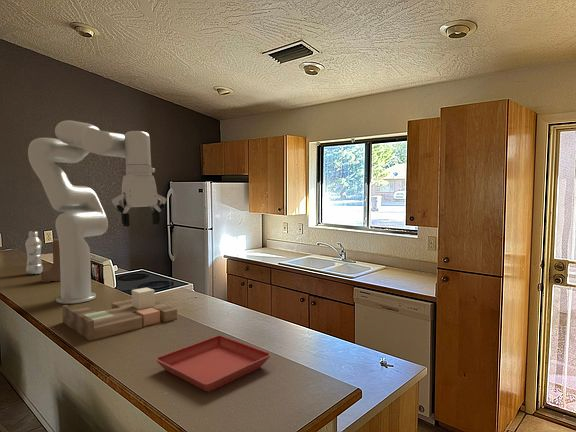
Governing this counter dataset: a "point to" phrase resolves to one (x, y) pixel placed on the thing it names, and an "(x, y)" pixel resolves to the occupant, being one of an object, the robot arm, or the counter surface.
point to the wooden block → (54, 271)
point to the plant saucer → (213, 362)
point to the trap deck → (111, 319)
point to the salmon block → (149, 316)
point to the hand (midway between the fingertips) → (141, 225)
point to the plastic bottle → (33, 254)
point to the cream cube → (143, 298)
